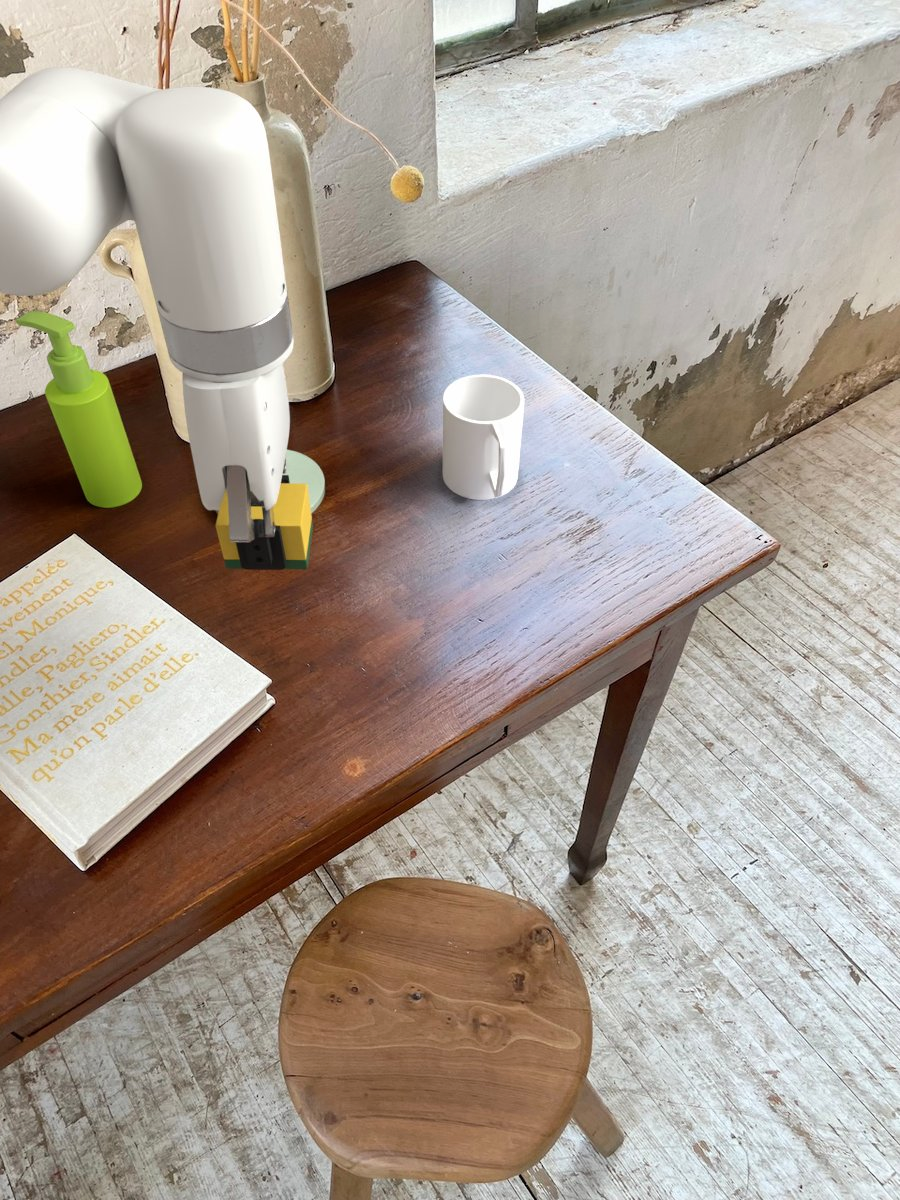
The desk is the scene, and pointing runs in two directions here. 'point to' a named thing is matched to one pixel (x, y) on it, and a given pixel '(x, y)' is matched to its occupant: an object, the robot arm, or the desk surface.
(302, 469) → the plate
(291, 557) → the sponge
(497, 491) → the cup
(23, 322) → the soap dispenser
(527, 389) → the desk surface
